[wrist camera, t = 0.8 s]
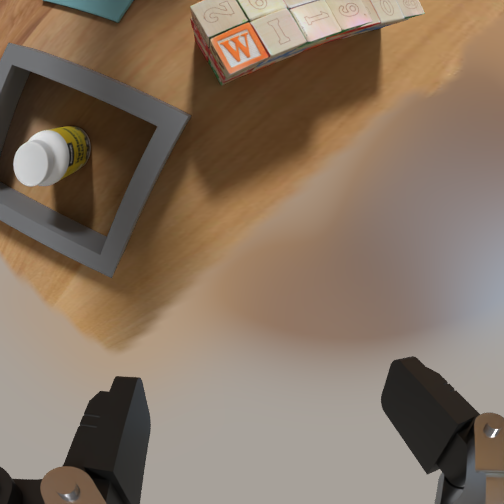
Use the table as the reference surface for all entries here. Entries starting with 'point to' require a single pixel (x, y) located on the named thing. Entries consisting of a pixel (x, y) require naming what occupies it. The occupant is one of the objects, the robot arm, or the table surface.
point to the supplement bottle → (51, 156)
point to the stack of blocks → (283, 28)
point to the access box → (151, 164)
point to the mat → (98, 7)
